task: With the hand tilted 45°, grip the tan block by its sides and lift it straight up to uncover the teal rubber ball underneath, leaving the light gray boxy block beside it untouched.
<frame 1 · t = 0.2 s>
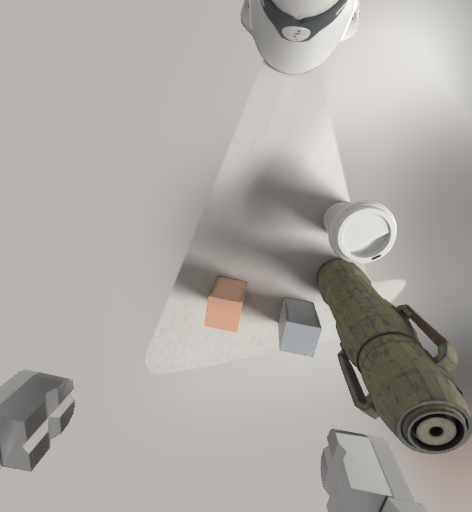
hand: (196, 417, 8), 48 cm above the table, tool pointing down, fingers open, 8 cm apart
coffee cup: (340, 218, 52), on the table
tan block: (230, 292, 60), on the table
thermos: (338, 277, 56), on the table
light gray boxy block: (295, 312, 59), on the table
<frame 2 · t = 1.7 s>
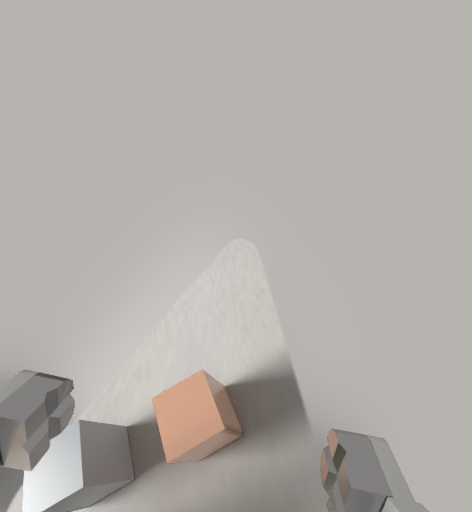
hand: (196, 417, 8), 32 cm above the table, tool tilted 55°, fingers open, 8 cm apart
tan block: (213, 421, 36), on the table
light gray boxy block: (108, 464, 36), on the table
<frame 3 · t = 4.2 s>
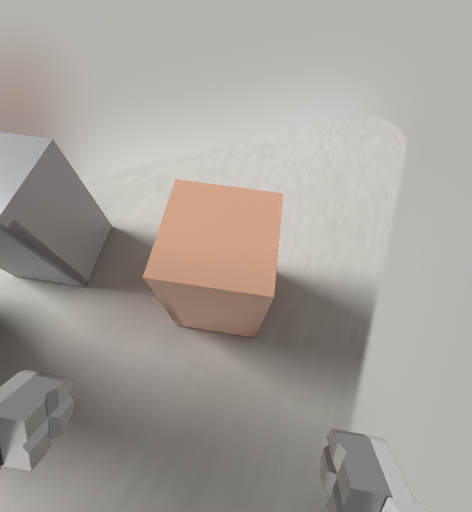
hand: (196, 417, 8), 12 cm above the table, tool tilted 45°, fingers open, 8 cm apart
tan block: (222, 294, 23), on the table
light gray boxy block: (66, 249, 25), on the table
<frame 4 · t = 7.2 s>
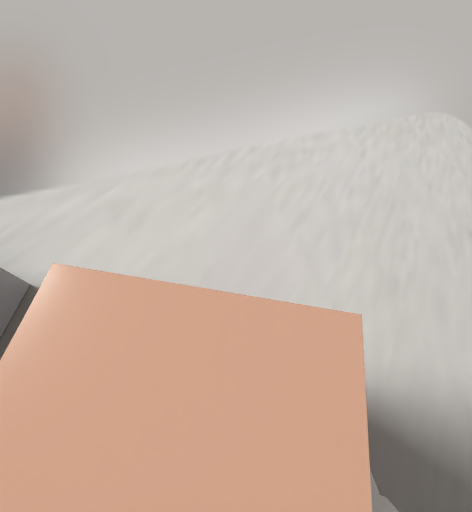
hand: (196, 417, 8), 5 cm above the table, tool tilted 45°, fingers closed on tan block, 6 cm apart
tan block: (205, 424, 13), on the table, touching gripper
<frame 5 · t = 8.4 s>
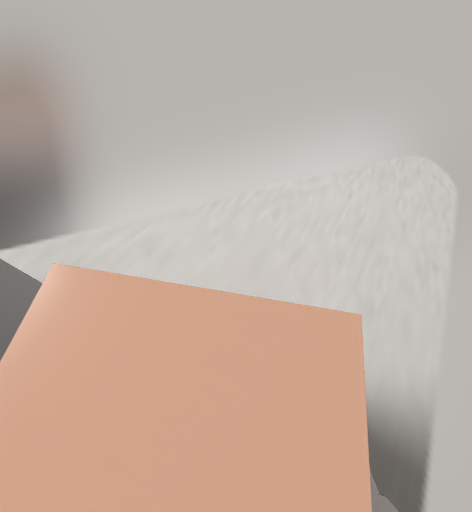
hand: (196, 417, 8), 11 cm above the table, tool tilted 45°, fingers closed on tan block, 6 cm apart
tan block: (205, 424, 13), point 5 cm above the table, touching gripper
light gray boxy block: (26, 344, 19), on the table
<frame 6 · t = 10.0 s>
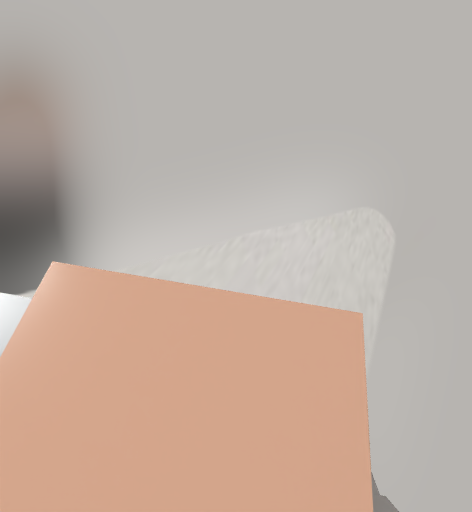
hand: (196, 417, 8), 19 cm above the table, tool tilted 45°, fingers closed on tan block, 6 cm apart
tan block: (205, 423, 13), point 14 cm above the table, touching gripper
light gray boxy block: (74, 359, 27), on the table
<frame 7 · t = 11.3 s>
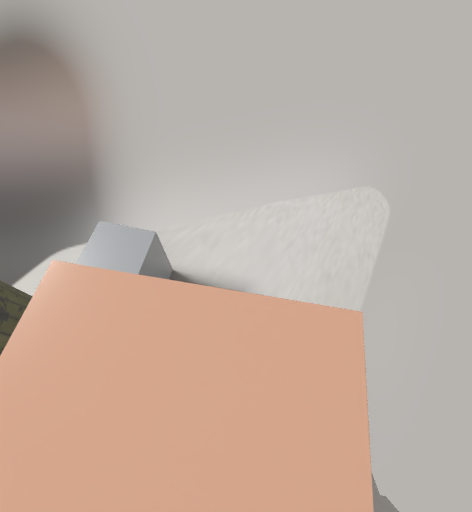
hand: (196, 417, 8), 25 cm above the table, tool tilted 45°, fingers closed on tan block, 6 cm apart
tan block: (205, 422, 13), point 19 cm above the table, touching gripper
thermos: (60, 350, 32), on the table
light gray boxy block: (142, 286, 36), on the table
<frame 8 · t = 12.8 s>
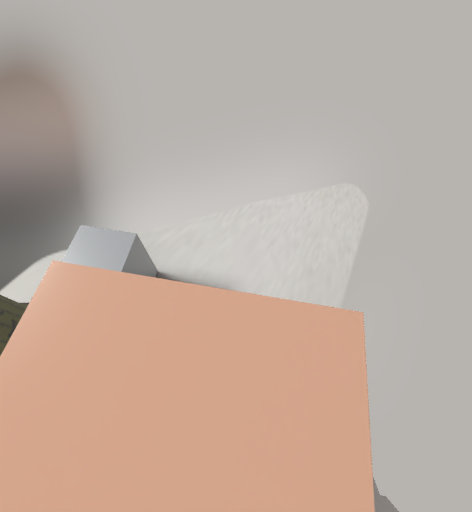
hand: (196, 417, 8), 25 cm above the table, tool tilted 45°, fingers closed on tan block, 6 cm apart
tan block: (205, 423, 13), point 20 cm above the table, touching gripper
thermos: (47, 355, 33), on the table
light gray boxy block: (128, 288, 37), on the table
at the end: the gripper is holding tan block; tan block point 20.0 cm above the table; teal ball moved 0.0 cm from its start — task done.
